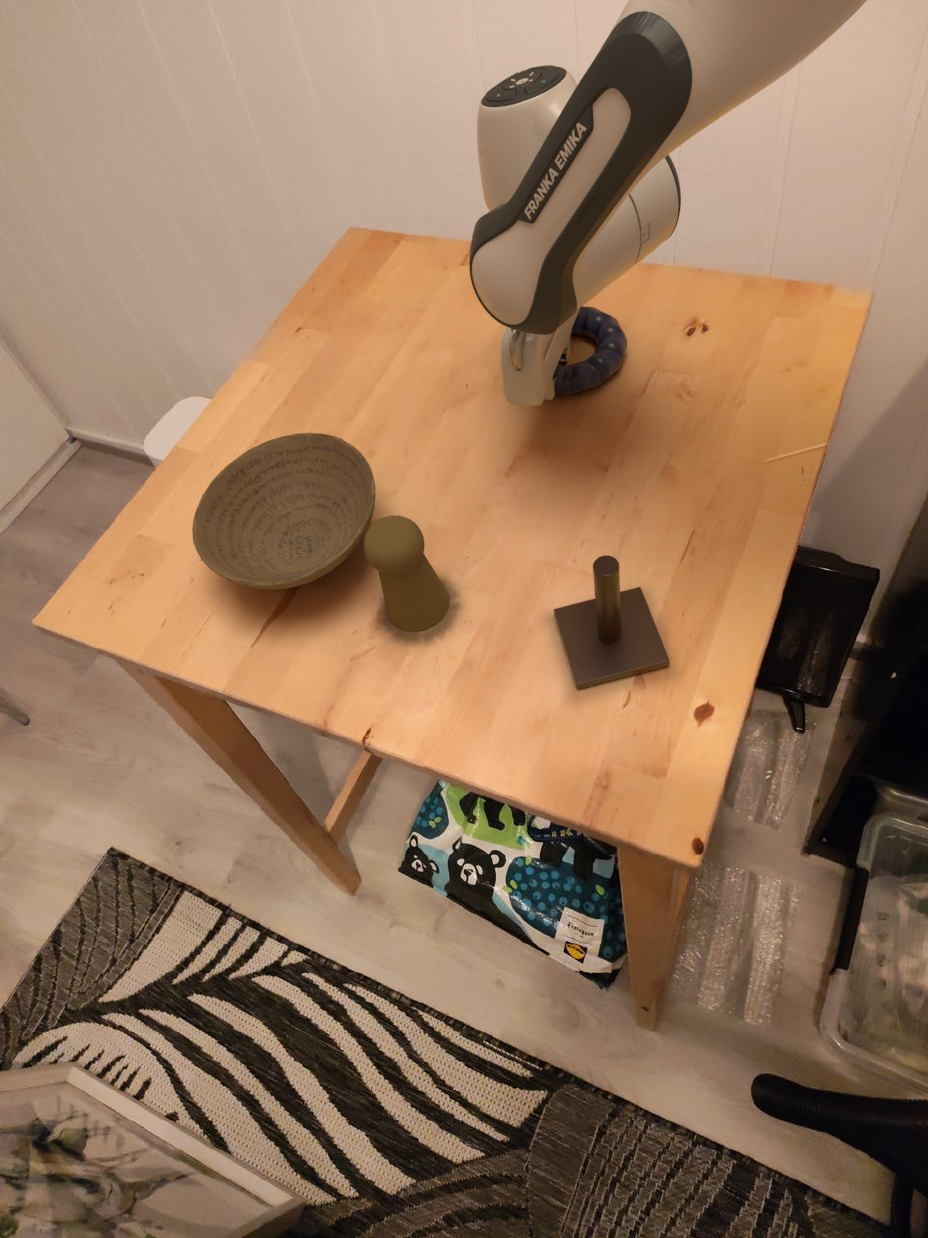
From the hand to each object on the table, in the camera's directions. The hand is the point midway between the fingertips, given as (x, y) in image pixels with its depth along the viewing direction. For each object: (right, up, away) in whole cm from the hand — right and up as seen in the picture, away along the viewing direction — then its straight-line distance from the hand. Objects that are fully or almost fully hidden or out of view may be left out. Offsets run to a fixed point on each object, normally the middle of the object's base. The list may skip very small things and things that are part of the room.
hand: (554, 377), depth 88 cm
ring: (+2, +4, +3) cm, 5 cm away
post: (+3, -28, -17) cm, 33 cm away
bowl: (-26, -19, -5) cm, 33 cm away
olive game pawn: (-14, -25, -11) cm, 31 cm away
